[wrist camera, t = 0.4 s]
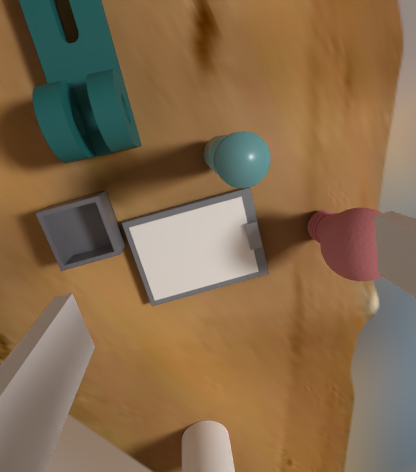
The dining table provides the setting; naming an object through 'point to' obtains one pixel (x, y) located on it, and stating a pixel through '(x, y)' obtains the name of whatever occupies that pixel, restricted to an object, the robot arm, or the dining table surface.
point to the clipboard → (197, 246)
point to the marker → (238, 158)
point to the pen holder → (82, 230)
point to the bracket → (79, 83)
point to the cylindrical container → (206, 448)
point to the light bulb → (347, 242)
